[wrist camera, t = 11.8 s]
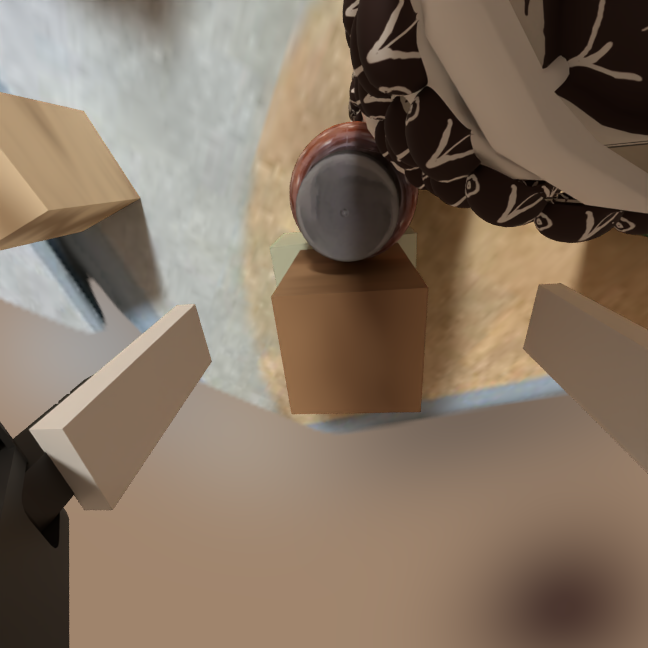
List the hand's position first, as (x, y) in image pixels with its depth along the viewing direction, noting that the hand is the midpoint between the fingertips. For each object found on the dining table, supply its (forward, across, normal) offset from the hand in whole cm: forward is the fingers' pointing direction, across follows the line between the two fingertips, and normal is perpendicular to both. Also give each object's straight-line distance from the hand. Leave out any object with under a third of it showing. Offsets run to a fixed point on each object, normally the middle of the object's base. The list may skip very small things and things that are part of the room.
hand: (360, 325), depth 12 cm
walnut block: (+8, 0, -2) cm, 8 cm away
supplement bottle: (+13, +1, +5) cm, 14 cm away
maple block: (+13, -19, +7) cm, 24 cm away
